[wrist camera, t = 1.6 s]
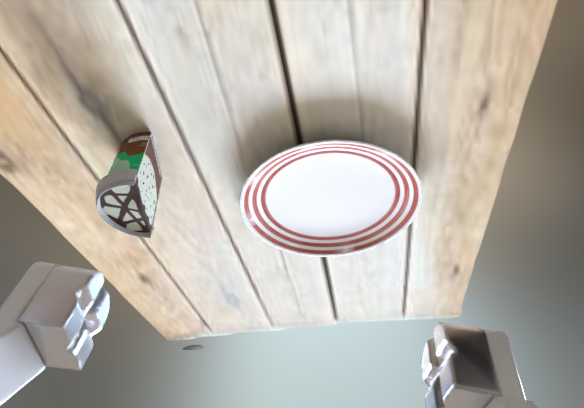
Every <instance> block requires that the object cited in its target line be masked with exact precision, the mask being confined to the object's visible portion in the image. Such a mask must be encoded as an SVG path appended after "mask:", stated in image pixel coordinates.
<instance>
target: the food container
mask: <svg viewBox="0 0 584 408" xmlns="http://www.w3.org/2000/svg"><path fill="white" fill-rule="evenodd" d="M161 182H162V176H161V172H160V167H159V163H158V159H157V155H156V150H155V146H154V142H153V138H152V133H151V132H142V133H138V134H134V135H131V136H130V137H128V138H127V139H125V140H124V142H123V143H122V145H121V147H120V149H119V151H118V153H117V156H116V158H115V160H114V162H113V165H112V167H111V169H110V171H109V174H108V175H107V176H105V177H103V178H102V179H101V180H100V182H99V183H98V185H97V189H96V205H97V209H98V212H99V214H100V216H101V217H102V218H103V219H104V220H105V221H106V222H107V223H108V224H109V225H111V226H112V227H114V228H116V229H118V230H120V231H122V232H124V233H127V234H130V235H134V236H138V237H145V238H151V235H152V233H153V230H154V227H153V224H154V219H155V213H156V208H157V203H158V198H159V192H160V187H161Z"/></svg>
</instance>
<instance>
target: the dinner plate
mask: <svg viewBox="0 0 584 408" xmlns="http://www.w3.org/2000/svg"><path fill="white" fill-rule="evenodd" d="M422 197H423V190H422V184H421V181H420V178H419V176H418V174H417V173H416V171H415V170H414V168H413V167H412V166H411V165H410V164H409V163H408V162H407V161H406V160H404V159H403V158H402V157H400V156H399V155H397V154H396V153H394V152H392V151H390V150H388V149H386V148H383V147H380V146H377V145H374V144H370V143H366V142H361V141H353V140H321V141H314V142H308V143H304V144H300V145H297V146H294V147H291V148H288V149H286V150H284V151H281V152H279V153H278V154H275V155H273V156H272V157H270V158H269V159H267V160H266V161H264V162H263V163H262V164H261V165H259V166H258V167H257V168H256V169H255V170H254V171H253V172H252V174H251V175H250V176H249V177H248V179H247V180H246V182H245V184H244V186H243V188H242V191H241V195H240V211H241V214H242V217H243V219H244V221H245V223H246V225H247V226H248V227H249V229H250V230H251V231H252V232H253V233H254V234H255V235H256V236H258V237H259V238H260V239H261V240H263V241H264V242H266V243H268V244H269V245H271V246H274V247H276V248H278V249H281V250H283V251H286V252H290V253H294V254H299V255H305V256H315V257H331V256H343V255H349V254H354V253H358V252H362V251H366V250H369V249H372V248H374V247H377V246H379V245H381V244H384V243H386V242H388V241H389V240H391V239H393V238H394V237H396V236H397V235H399V234H400V233H401V232H403V231H404V230H405V229H406V228H407V227H408V226H409V225H410V224H411V222H412V221H413V220H414V219H415V217H416V215H417V214H418V212H419V210H420V207H421V203H422Z"/></svg>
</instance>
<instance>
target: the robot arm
mask: <svg viewBox="0 0 584 408" xmlns="http://www.w3.org/2000/svg"><path fill="white" fill-rule="evenodd" d="M103 283H104V277H103V274H102V272H98V271H92V270H86V269H81V268H75V267H69V266H62V265H58V264H51V263H44V262H36V263H35V264H33V265H32V266H30V268H29V269H28V270H27V272H26V273H25V274H24V276H23V277H22V279H21V280H20V281H19V283H18V284H17V286H16V287H15V288H14V290H13V291H12V292H11V294H10V295H9V297H8V298H7V299H6V301H5V302H4V303H3V305H2V306H1V307H0V405H2V404H3V403H4V402H5V401H6V400H8V399H9V398H10V397H11V396H12V395H13V394H15V393H16V392H17V391H18V390H20V389H21V388H22V387H23V386H25V385H26V384H27V383H28V382H29V381H31V380H32V379H33V378H34V377H35V376H37V375H38V374H39V373H40V372H42V371H43V370H44V369H45V368H46V367H45V366H50V367H57V368H66V369H74V370H81V369H82V367H83V365H84V363H85V361H86V359H87V357H88V355H89V353H90V351H91V349H92V347H93V342H92V338H91V336H92V335H94V334H95V333H97V332H98V331H100V330H101V329H102V327H103V325H104V323H105V321H106V319H107V315H108V310H109V307H110V303H109V302H110V301H109V300H110V299H109V294H108V292H107V291H106V290H105V289H104V288H102V285H103ZM433 333H434V338H433V339H431V340H429V341H427V343H426V345H425V347H424V350H423V356H422V376H423V380H424V381H425V382H426V384H427V385H428V386H429V388H430V389H429V391H428V392H427V394H426V396H425V402H426V408H538V407H537V406H536V405H535V404H534V402H532V401H527V400H526V398H525V394H524V391H523V388H522V384H521V381H520V377H519V374H518V371H517V367H516V364H515V360H514V357H513V354H512V350H511V347H510V343H509V340H508V337H507V336H506V334H505V333H504V332H500V331H493V330H485V329H481V328H475V327H469V326H461V325H454V324H446V323H439V324H437V325H436V327H435V328H434V330H433Z"/></svg>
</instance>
